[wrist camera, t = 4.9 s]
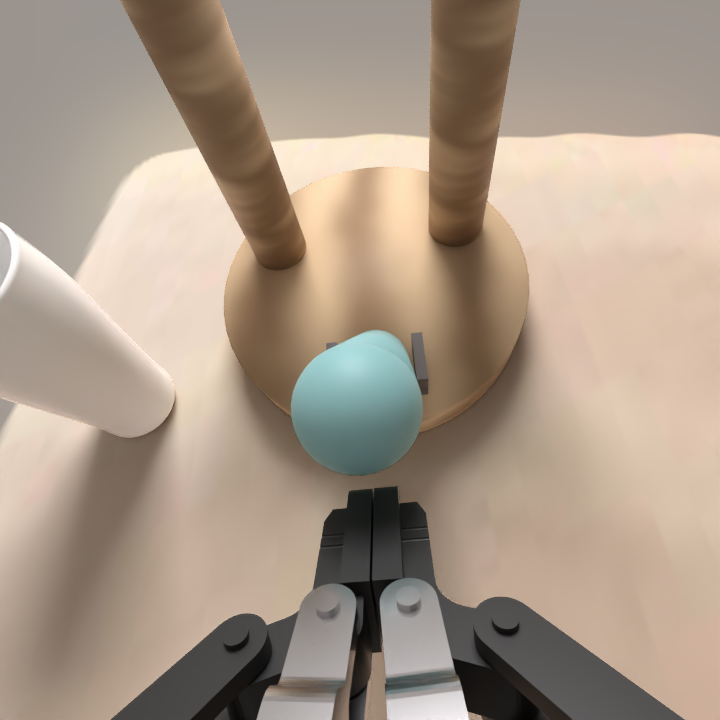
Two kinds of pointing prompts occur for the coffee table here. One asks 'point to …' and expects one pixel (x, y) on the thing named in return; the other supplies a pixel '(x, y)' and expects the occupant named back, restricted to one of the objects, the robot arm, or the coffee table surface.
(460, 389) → the stool
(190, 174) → the coffee table surface
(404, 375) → the teal capsule cylinder
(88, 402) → the drinking glass
